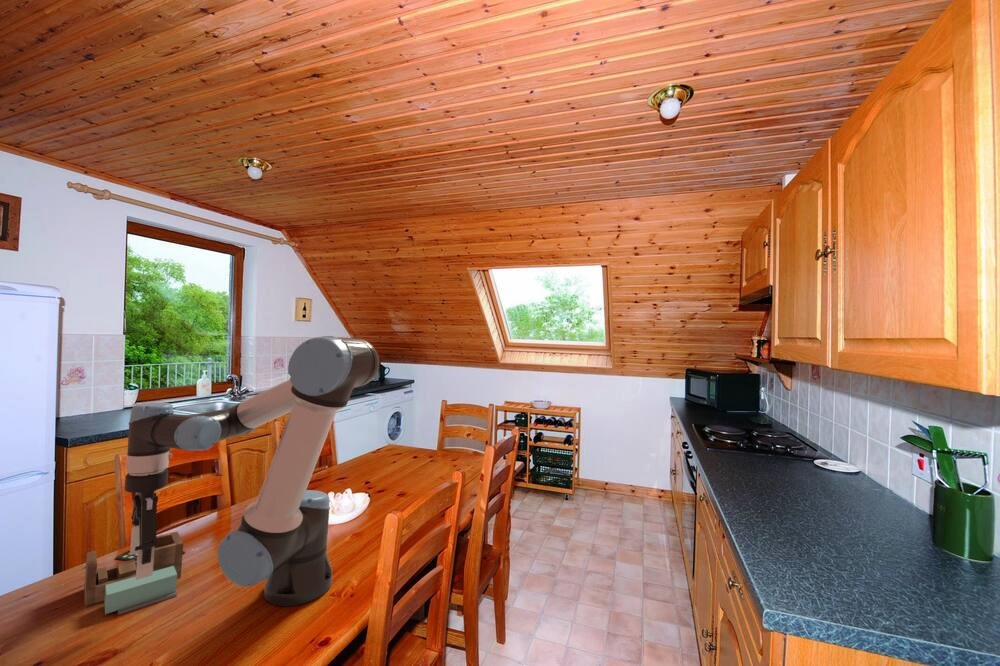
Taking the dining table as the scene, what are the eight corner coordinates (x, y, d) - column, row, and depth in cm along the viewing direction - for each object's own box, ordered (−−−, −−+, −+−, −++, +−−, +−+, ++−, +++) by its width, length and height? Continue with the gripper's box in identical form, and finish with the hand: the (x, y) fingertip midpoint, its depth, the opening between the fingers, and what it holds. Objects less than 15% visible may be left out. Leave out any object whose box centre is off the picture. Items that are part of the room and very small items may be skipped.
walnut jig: (175, 563, 108) (177, 531, 109) (180, 577, 102) (183, 543, 103) (84, 589, 96) (86, 552, 96) (84, 606, 90) (87, 567, 90)
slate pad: (176, 596, 95) (176, 593, 95) (118, 615, 88) (118, 612, 88) (171, 582, 100) (171, 580, 100) (116, 599, 93) (116, 597, 93)
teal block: (172, 582, 99) (173, 565, 99) (175, 591, 96) (177, 574, 96) (104, 603, 91) (105, 584, 91) (105, 614, 87) (106, 595, 87)
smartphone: (161, 565, 107) (113, 557, 109) (161, 568, 107) (113, 560, 109) (187, 551, 114) (141, 544, 116) (186, 554, 114) (141, 546, 116)
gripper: (177, 481, 88) (170, 581, 87) (160, 456, 105) (154, 539, 104) (130, 489, 82) (122, 595, 82) (121, 461, 100) (114, 548, 99)
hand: (140, 564), depth 93 cm, fingers open, 13 cm apart
